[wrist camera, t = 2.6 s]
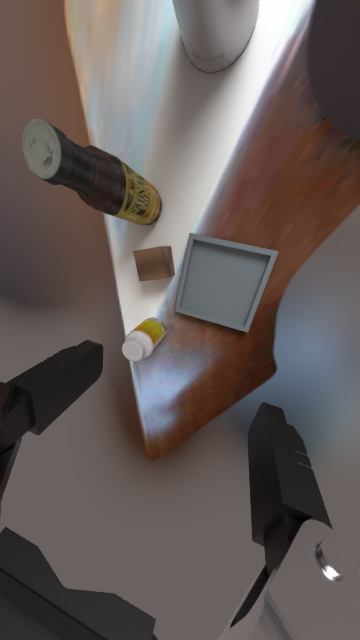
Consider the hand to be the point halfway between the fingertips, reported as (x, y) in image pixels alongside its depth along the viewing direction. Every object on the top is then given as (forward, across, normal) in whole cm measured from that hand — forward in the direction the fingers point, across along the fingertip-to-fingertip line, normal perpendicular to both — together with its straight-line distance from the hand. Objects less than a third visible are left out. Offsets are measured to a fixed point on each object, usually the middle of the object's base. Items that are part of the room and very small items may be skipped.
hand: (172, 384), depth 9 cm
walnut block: (+28, +12, -1) cm, 31 cm away
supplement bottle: (+28, +11, +13) cm, 33 cm away
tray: (+28, 0, 0) cm, 28 cm away
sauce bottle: (+28, +16, -10) cm, 34 cm away
